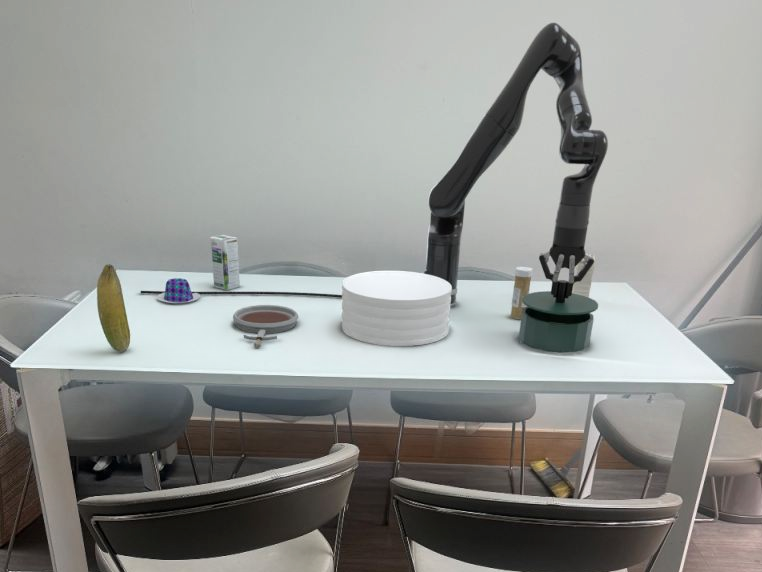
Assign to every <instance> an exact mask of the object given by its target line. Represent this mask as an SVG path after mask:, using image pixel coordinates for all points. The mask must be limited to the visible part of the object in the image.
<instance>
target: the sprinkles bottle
mask: <svg viewBox="0 0 762 572" xmlns="http://www.w3.org/2000/svg"><path fill="white" fill-rule="evenodd" d="M532 276H533V268H531V267H529V266H517V267H516V268H515V270H514V284H513V289H512V290H513V291H512V300H511V311H510V317H511V319H514V320H521V315H522V309H523V308H525V307H527V306H526V305H524V304H523V302H522V298H523V297H524V296H525V295H527V294H530V287H531V280H532Z"/></svg>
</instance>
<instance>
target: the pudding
mask: <svg viewBox="0 0 762 572" xmlns="http://www.w3.org/2000/svg"><path fill="white" fill-rule="evenodd" d="M164 291H165V293H161V294H157V296H156V299H157V300H159V301H160V302H164V303H169V304H187V303H189V302H193V301H196V300H200V298H201V294H198V293H192V292H193V291H192V289H191V287H190V284H189V281H188V279H186V278H180V277H179V278H176V277H175V278H169V279H168V280H167V281H166V282H165V288H164Z"/></svg>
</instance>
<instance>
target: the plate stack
mask: <svg viewBox="0 0 762 572" xmlns="http://www.w3.org/2000/svg"><path fill="white" fill-rule="evenodd" d="M451 292H452V286H451V284H450V283H449V282H447V281H446V280H444V279H441V278H439V277H436V276H432V275H428V274H424V272H417V271H406V270H373V271H365V272H358V273H355V274H352V275H349V276H347V277H345V278H344V279H343V280H342V282H341V295H342V298H341V300H342V302H341V310H342V311H341V330H342V332H343V333H344V334H345V335H347V336H348V337H350V338H352V339H354V340H357V341H361V342H364V343H367V344H372V345H380V346H388V347H389V346H390V347H414V346H422V345H427V344H432V343H435V342H438V341H441V340H442V339H444V338H446V337H447V335H448V334H449V329H450V326H449V324H450V314H451V307H450V303H451Z"/></svg>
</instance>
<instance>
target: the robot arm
mask: <svg viewBox="0 0 762 572" xmlns="http://www.w3.org/2000/svg"><path fill="white" fill-rule="evenodd" d="M582 59H583V58H582V51H581V47H580V44H579V42H578V41H577V40H576V38H574V37H573V36H572V34H570V33H569V32H568V31H567V30H565V28H563V26H561V25H560V24H559V23H557V22H549V23H548V24H546V25H545V26H544V27H542V29H540V31H538V32H537V34H536V35H535V37H534V38H533V40H532V41H531V43H530V45H529V46H528V48H527V50H526V51H525V53H524V55H523V56H522V58H521V60H520V62H519V63H518V65H517V67H516V68H515V69H514V71H513V73H512V75H511V76H510V78H509V79H508V81H507V82H506V84H505V86H504V87H503V88H502V90H501V91H500V93H499V94H498V95H497V97H496V98H495V99H494V101H493V102H492V103H491V105H490V107H489V108H488V109H487V110H486V112H485V113H484V115H483V116H482V117H481V119H480V120H479V122H478V123H477V125H476V126H475V128H474V129H473V131H472V132H471V135H470V136H469V137H468V139H467V140H466V143H465V145H464V147H463V148H462V150H461V151H460V154H459V156H458V157H457V158H456V160H455V162H454V163H453V164H452V166H451V167H450V168H449V170H447V172H446V173H445V174H444V176H442V178H441V179H440V180H439V181H438V182H437V183H436V184H435V185H434V186H433V187H432V188H431V190H430V192H429V194H428V198H427V199H428V201H427V203H428V208H429V211H430V219H429V226H428V229H427V239H426V240H427V241H426V256H425V269H424V272H423V274H428V275H432V276H436V277H439V278H441V279H444V280H446V281H447V282H449V283H450V284H451V286H452V292H451V303H450V308H452V307H455V306H456V305H457V295H458V278H459V265H460V254H461V253H460V252H461V241H462V235H463V228H464V216H465V206H466V198H467V197H468V196H469V193H470V192H471V191H472V189H473V187H474V186H475V185H476V182H477V181H478V180H479V179H480V177H481V176H482V175H483V174H484V173H485V172H486V171H488V169H489V168H490V167H491V166H492V164H494V162H495V161H496V160H497V159H498V158H499V157H500V156H501V154H502V153H503V152H504V151H505V150H506V148H507V147H508V146H509V145H510V143H511V142H512V140H513V139H514V137H515V136H516V135H517V133H518V132H519V130H520V128H521V126H522V123H523V122H522V121H523V118H524V112H525V107H526V101H527V96H528V93H529V90H530V88H531V86H532V84H533V82H534V80H535V78H536V77H537V75H538V74H539V72H540V71H541V70H542V71H543V72H544V73H545V74H546V75H548V76H549V77H552V78H553V80H554V81H555V83H556V84H557V86H558V88H559V92H558V94H557V97H556V101H555V110H556V114H557V120H558V122H559V126H560V138H559V139H560V140H559V147H558V154H559V158H560V159H561V161H563V163H565V164H566V165H567V164H568V165H584V166H583V168H582V169H581V170H580V172H577V173H573V174H570V175H567V176H565V177H564V178H563V180H562V183H561V189H560V196H559V203H558V207H557V211H556V217H555V224H554V231H553V239H552V245H551V247H550V248H549V251H546V252H544V253H540V254H539V256H538V259H539V262H540V265H541V268H542V272H543V273H544V274H543V275H544V277H545V279H546V280H550V281H551V288H550V291H551V295H553V297H555V298H556V294H557V287H558V281H559V277H560V273H561V270H562V269H567V270H568V280H567V281H568V285H567V291H566V298H567V299H568V297H569V296H571V295H572V291H573V285H574V283H575V282H578V281H579V282H580V281H581V280H582V279H583V278H584V276H585V275H586V273H587V272H588V270H589V269H590V268H591V266H592V265H593V263H594V258H593V257H589V256H588V255H586V254H587V253H586V250H585V245H586V239H587V233H588V226H589V223H590V213H591V211H590V210H591V201H592V196H593V195H592V194H593V189H594V185H595V182H596V179H597V177H598V175H599V172H600V169H601V167H602V165H603V163H604V160H605V158H606V155H607V152H608V148H609V142H608V141H609V140H608V137H607V135H606V133H605V132H604V131H603V130H601V129H591V127H592V123H593V116H592V112H591V109H590V106H589V102H588V99H587V95H586V92H585V85H584V77H583V76H584V75H583V61H582ZM550 258H551V259H552V262H553V263H554V265H555V267H554V270H553V272H551V271H550V268H549V267H550V266H549V264H548V263H549V261H550ZM582 259H584V262H583V264H584V266H583V268H582V269H581V271H580V272H579V273H578V275H576V276H575V270H576V267H577V264H578V263H579V262H580V261H581V260H582ZM161 293H165V290H164V291H163V290H140V294H146V295H149V294H151V295H159V294H161ZM192 293H198V294H200V295H274V296H275V295H279V296H280V295H281V296H307V297H308V296H309V297H311V296H312V297H326V298H339V299H340V298H341V299H342V294H333V293H317V292H297V291H296V292H295V291H294V292H293V291H291V292H290V291H192Z"/></svg>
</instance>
